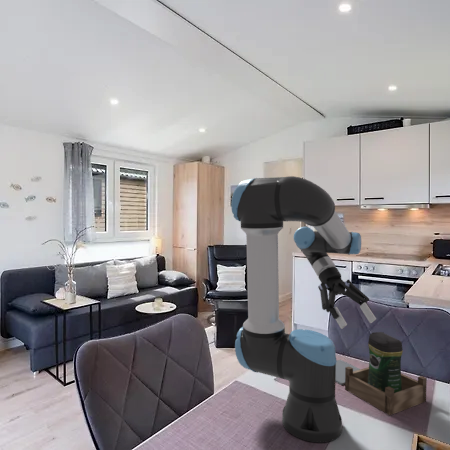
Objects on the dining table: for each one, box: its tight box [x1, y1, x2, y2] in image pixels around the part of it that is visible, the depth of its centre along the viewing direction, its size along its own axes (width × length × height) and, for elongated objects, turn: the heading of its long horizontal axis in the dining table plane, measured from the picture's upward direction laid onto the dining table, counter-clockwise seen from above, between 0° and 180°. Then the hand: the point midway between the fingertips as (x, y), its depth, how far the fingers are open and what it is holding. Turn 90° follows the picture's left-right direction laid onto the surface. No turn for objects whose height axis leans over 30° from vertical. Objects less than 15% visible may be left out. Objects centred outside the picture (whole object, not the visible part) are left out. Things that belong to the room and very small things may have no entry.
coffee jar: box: [367, 331, 403, 393], centre depth 105 cm, size 10×8×19 cm
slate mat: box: [335, 359, 361, 386], centre depth 121 cm, size 14×14×1 cm
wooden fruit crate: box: [344, 366, 428, 416], centre depth 105 cm, size 16×16×7 cm
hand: (359, 324), depth 114 cm, fingers open, 13 cm apart
